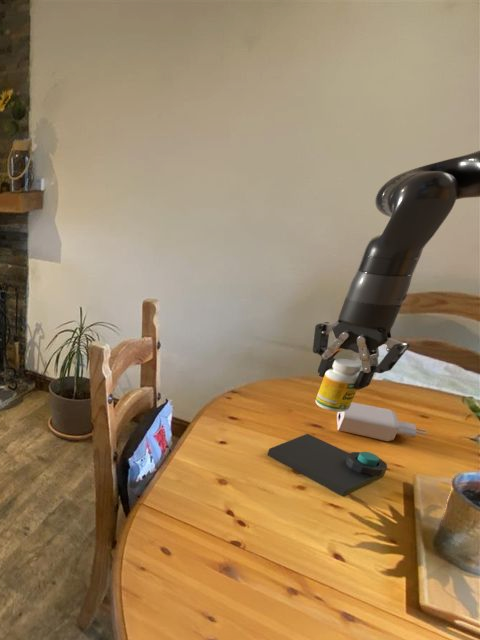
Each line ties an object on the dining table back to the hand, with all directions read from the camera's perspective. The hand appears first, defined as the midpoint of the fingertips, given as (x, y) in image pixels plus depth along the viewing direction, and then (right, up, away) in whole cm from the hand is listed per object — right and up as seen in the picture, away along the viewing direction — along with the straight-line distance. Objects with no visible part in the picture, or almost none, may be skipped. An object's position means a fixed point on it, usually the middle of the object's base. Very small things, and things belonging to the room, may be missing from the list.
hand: (340, 381), depth 81 cm
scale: (+3, -18, +8) cm, 20 cm away
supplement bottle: (0, -5, +3) cm, 6 cm away
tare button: (+8, -16, +4) cm, 19 cm away
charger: (+24, -12, +18) cm, 32 cm away
